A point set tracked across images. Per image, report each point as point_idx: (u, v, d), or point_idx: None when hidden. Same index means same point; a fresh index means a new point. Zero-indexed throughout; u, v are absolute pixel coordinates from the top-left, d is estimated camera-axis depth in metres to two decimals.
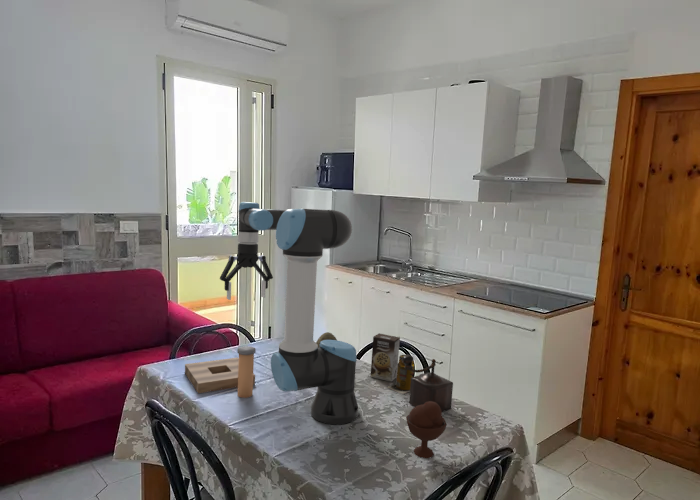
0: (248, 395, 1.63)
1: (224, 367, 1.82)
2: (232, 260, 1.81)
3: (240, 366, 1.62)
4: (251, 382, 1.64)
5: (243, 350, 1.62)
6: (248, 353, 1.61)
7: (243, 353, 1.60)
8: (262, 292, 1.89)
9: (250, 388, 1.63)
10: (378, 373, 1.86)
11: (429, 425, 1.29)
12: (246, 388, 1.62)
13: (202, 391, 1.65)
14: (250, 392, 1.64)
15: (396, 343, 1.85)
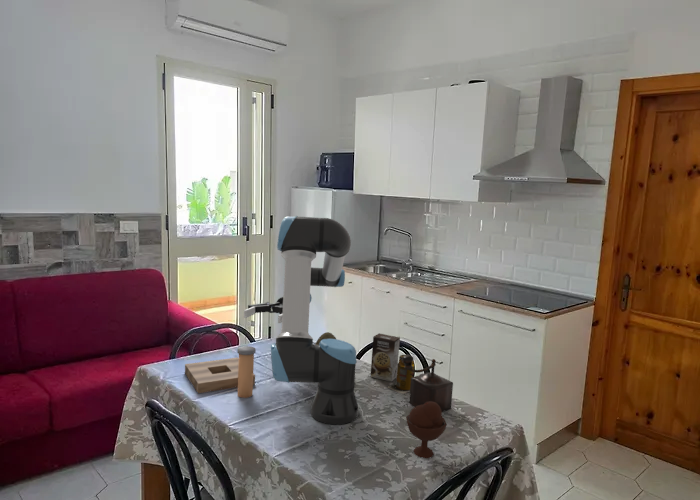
0: (248, 395, 1.63)
1: (224, 367, 1.82)
2: (266, 302, 1.87)
3: (240, 366, 1.62)
4: (251, 382, 1.64)
5: (243, 350, 1.62)
6: (248, 353, 1.61)
7: (243, 353, 1.60)
8: None
9: (250, 388, 1.63)
10: (378, 373, 1.86)
11: (429, 425, 1.29)
12: (246, 388, 1.62)
13: (202, 391, 1.65)
14: (250, 392, 1.64)
15: (396, 343, 1.85)
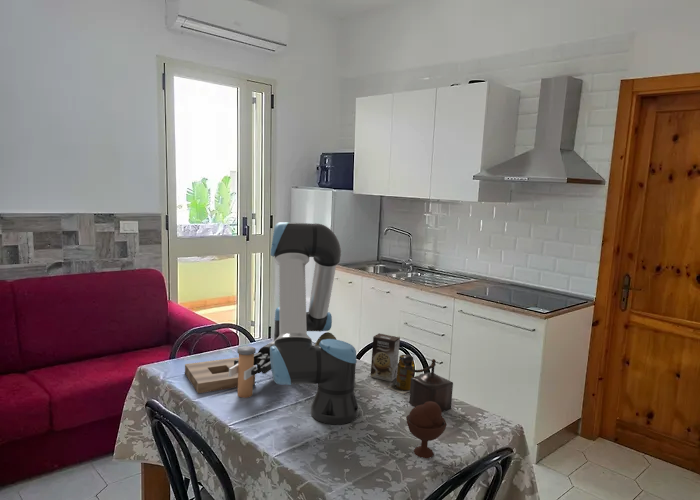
0: (248, 395, 1.63)
1: (224, 367, 1.82)
2: None
3: (240, 366, 1.62)
4: (251, 382, 1.64)
5: (243, 350, 1.62)
6: (248, 353, 1.61)
7: (243, 353, 1.60)
8: None
9: (250, 388, 1.63)
10: (378, 373, 1.86)
11: (429, 425, 1.29)
12: (246, 388, 1.62)
13: (202, 391, 1.65)
14: (250, 392, 1.64)
15: (396, 343, 1.85)
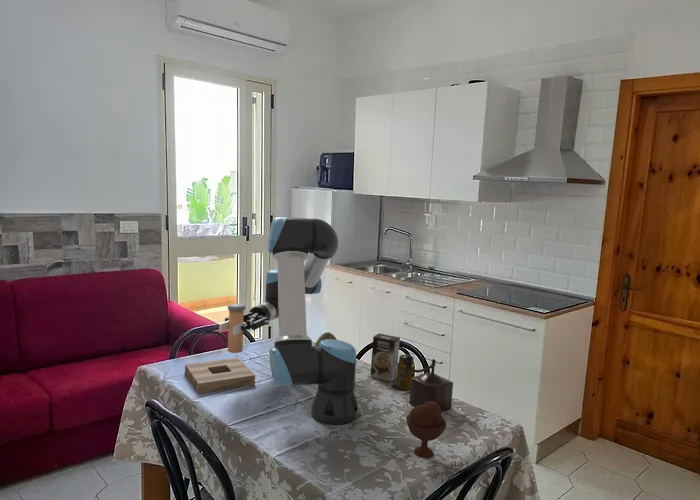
0: (238, 351, 1.69)
1: (224, 367, 1.82)
2: None
3: (230, 322, 1.67)
4: (241, 338, 1.69)
5: (233, 307, 1.67)
6: (238, 309, 1.66)
7: (233, 309, 1.66)
8: None
9: (240, 344, 1.69)
10: (378, 373, 1.86)
11: (429, 425, 1.29)
12: (236, 343, 1.68)
13: (202, 391, 1.65)
14: (240, 348, 1.69)
15: (396, 343, 1.85)
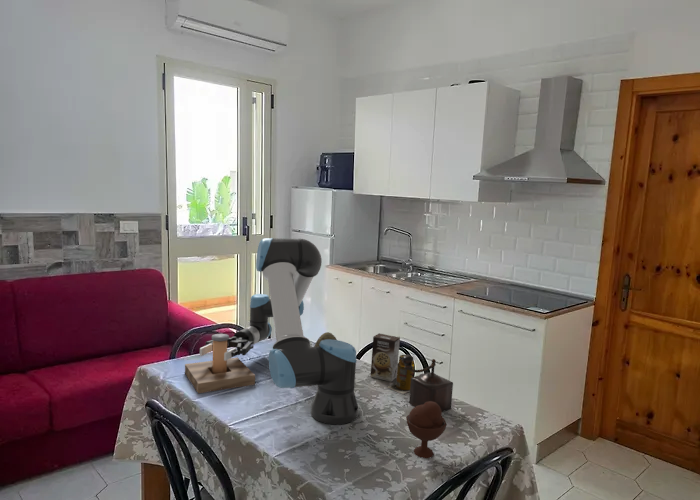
0: None
1: None
2: None
3: (214, 352, 1.74)
4: (224, 367, 1.76)
5: (217, 337, 1.74)
6: (221, 340, 1.73)
7: (217, 340, 1.73)
8: None
9: None
10: (378, 373, 1.86)
11: (429, 425, 1.29)
12: (219, 372, 1.75)
13: (202, 391, 1.65)
14: None
15: (396, 343, 1.85)
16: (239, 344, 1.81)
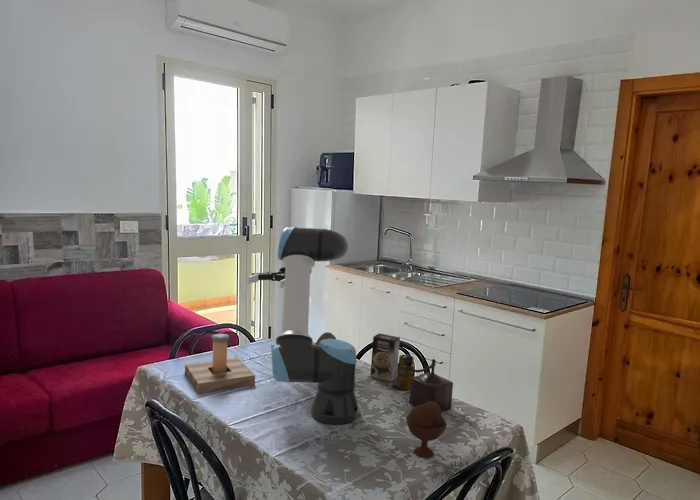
0: None
1: None
2: (269, 272, 1.99)
3: (214, 352, 1.74)
4: (225, 367, 1.76)
5: (217, 337, 1.74)
6: (221, 340, 1.73)
7: (217, 340, 1.73)
8: None
9: None
10: (378, 373, 1.86)
11: (429, 425, 1.29)
12: (220, 372, 1.75)
13: (202, 391, 1.65)
14: None
15: (396, 343, 1.85)
16: None
